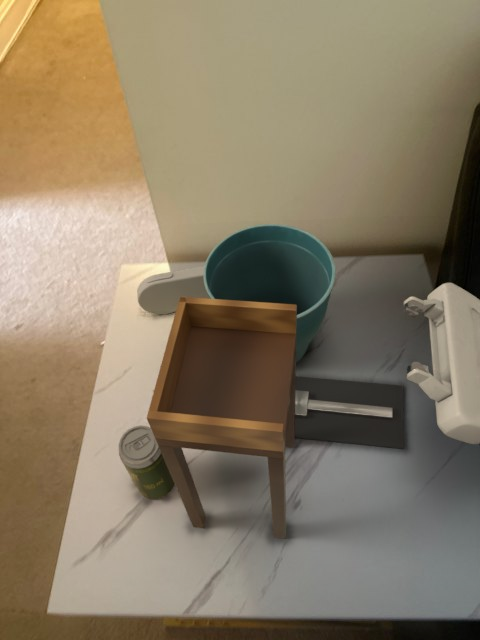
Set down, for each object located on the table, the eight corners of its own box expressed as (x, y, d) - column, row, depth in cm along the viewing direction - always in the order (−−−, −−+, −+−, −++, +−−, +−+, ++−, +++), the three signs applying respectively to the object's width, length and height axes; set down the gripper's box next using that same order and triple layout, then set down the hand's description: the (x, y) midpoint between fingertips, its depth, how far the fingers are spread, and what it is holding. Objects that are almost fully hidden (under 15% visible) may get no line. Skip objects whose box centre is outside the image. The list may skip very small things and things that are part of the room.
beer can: (163, 456, 79) (146, 415, 70) (184, 485, 77) (169, 447, 67) (130, 479, 78) (108, 440, 68) (150, 509, 75) (130, 474, 65)
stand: (295, 438, 80) (296, 304, 56) (285, 539, 71) (282, 432, 48) (212, 429, 81) (179, 296, 58) (193, 527, 73) (146, 418, 49)
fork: (391, 402, 81) (392, 399, 81) (392, 427, 79) (393, 424, 78) (268, 390, 84) (268, 387, 83) (265, 414, 82) (264, 411, 81)
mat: (402, 386, 83) (402, 385, 83) (403, 449, 77) (404, 448, 77) (255, 374, 87) (254, 372, 86) (246, 433, 81) (245, 431, 80)
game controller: (254, 288, 97) (251, 255, 91) (256, 298, 96) (254, 265, 89) (142, 308, 96) (131, 275, 90) (143, 318, 95) (132, 286, 88)
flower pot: (341, 380, 85) (351, 310, 71) (223, 399, 84) (210, 332, 71) (315, 290, 96) (319, 215, 82) (210, 306, 95) (197, 233, 82)
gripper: (508, 297, 72) (422, 254, 69) (536, 443, 60) (433, 401, 56) (471, 321, 77) (389, 282, 73) (490, 461, 65) (393, 423, 61)
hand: (408, 335), depth 65 cm, fingers open, 8 cm apart
